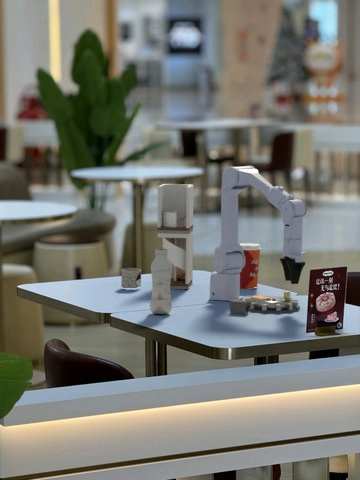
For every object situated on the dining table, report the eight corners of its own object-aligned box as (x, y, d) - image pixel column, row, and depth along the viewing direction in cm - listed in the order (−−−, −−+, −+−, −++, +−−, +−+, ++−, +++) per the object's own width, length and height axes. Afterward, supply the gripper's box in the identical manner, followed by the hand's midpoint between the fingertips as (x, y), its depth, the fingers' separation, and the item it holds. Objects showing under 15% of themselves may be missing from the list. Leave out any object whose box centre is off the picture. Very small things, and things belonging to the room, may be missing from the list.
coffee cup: (258, 290, 420) (259, 246, 418) (234, 289, 421) (235, 245, 419) (261, 286, 428) (262, 243, 426) (238, 285, 429) (239, 242, 427)
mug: (140, 290, 416) (140, 271, 415) (120, 290, 416) (120, 271, 415) (141, 285, 426) (142, 266, 425) (122, 285, 426) (122, 266, 425)
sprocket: (237, 308, 382) (238, 293, 381) (252, 299, 398) (252, 284, 397) (291, 312, 376) (291, 297, 376) (303, 302, 392) (304, 288, 392)
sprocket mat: (232, 310, 382) (232, 308, 382) (248, 301, 399) (248, 298, 399) (292, 315, 376) (292, 312, 376) (305, 305, 393) (305, 302, 393)
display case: (162, 283, 431) (163, 183, 426) (192, 284, 429) (193, 184, 425) (157, 288, 420) (158, 186, 415) (188, 290, 418) (189, 187, 414)
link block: (230, 314, 378) (230, 300, 377) (232, 312, 380) (232, 298, 380) (245, 315, 376) (245, 301, 375) (248, 313, 379) (248, 299, 378)
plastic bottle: (149, 312, 379) (149, 247, 376) (171, 311, 379) (171, 247, 377) (150, 316, 372) (150, 250, 370) (172, 316, 373) (173, 250, 370)
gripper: (312, 241, 371) (311, 285, 373) (298, 235, 385) (297, 278, 387) (289, 241, 370) (288, 286, 372) (276, 235, 384) (276, 278, 386)
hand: (291, 282), depth 379 cm, fingers open, 5 cm apart
